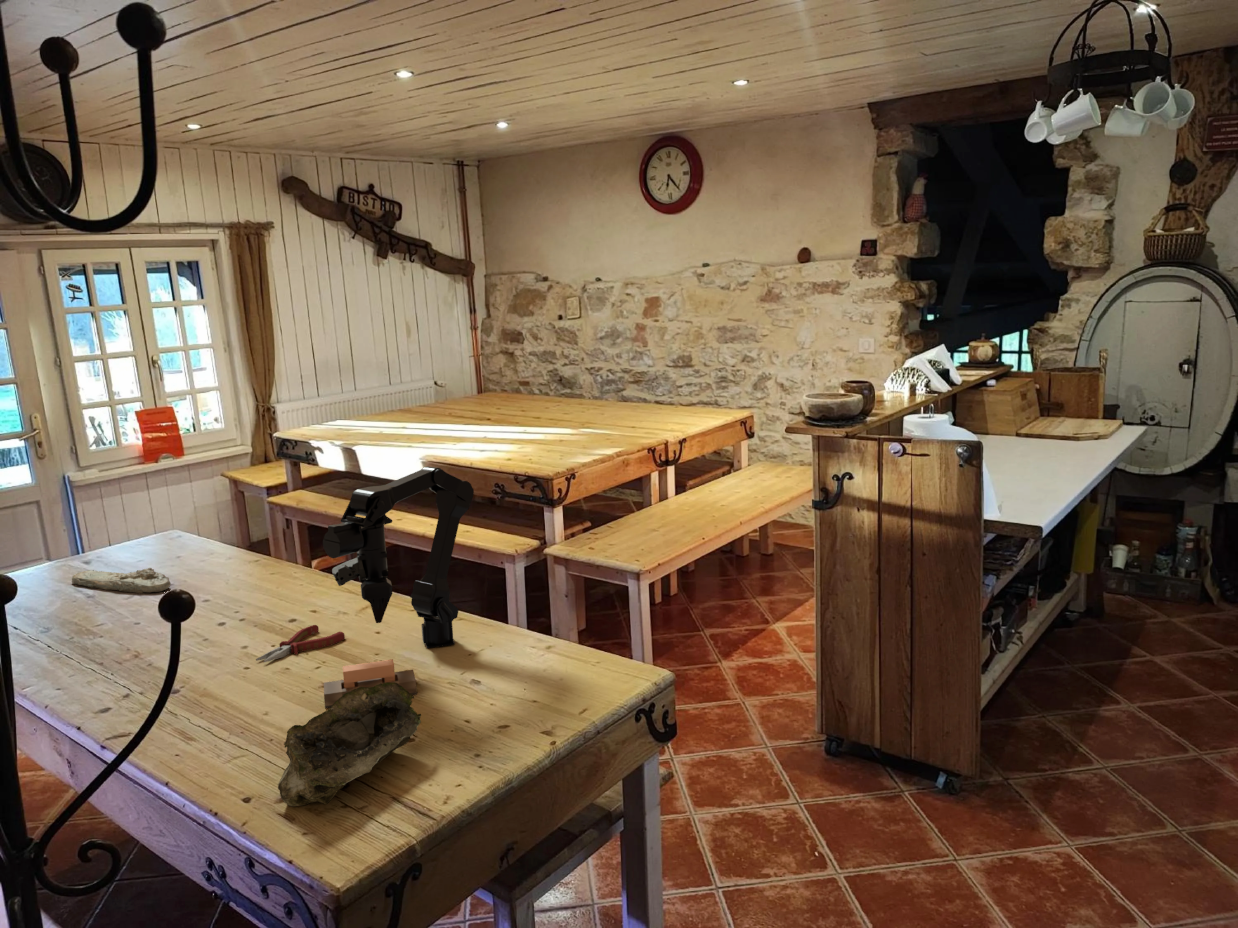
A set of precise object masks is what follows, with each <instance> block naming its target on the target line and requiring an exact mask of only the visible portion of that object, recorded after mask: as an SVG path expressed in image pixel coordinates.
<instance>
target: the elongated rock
mask: <svg viewBox="0 0 1238 928" xmlns="http://www.w3.org/2000/svg"><path fill="white" fill-rule="evenodd" d="M71 583H72V585H79V586H83V587H88V588H91V589H99V590H105V591H119V592H124V593H130V592H131V593H137V594H144V593H156V592H157V593H159V592H163V591H164V590H167V589H169V588H170V587H171V581H170V578H169V576H166V575H165V574H163V573H161V572H156V571H155V569H153V568H152V567H148V568H144V569H143V568H142V570H136V571H133V572H132V571H131V572H128V573H123V572H112V571H102V570H101V571H100V570H99V571H98V570H95V569H93V570H84V571H80V572H77V573H75V574H73V575H72V578H71Z"/></svg>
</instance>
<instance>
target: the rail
mask: <svg viewBox="0 0 1238 928" xmlns="http://www.w3.org/2000/svg"><path fill="white" fill-rule="evenodd" d="M394 672H395V681H392V682H385V680H384V678H378V679H371V680H365V681H358V682H354V684H355V687H352V688H345V689H344V679H338V680H331V681H324V682H323V698H324V699H323V700H324V709H326V710H327V709H330V708H331V707H332V705H333V704H334V703H335V702H336V701H337V700H338V699H339V698H340V697H342V696H343V695H344V694H346V693H348V692H351V691H352V690H354V689H357V688H359V687H374V686H376V685H378V684H380V683H382V684H384V683H394V682H395V683H398V684H399V685H401V686H402V687H403V688H404V689H406V690H407V691H408V692H409V693H411V694H412V695H413V696H415V695H417V694H418V692H417V691H418V689H417V678H416V676H415V671H414V669H407V670H401V671H394Z"/></svg>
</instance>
